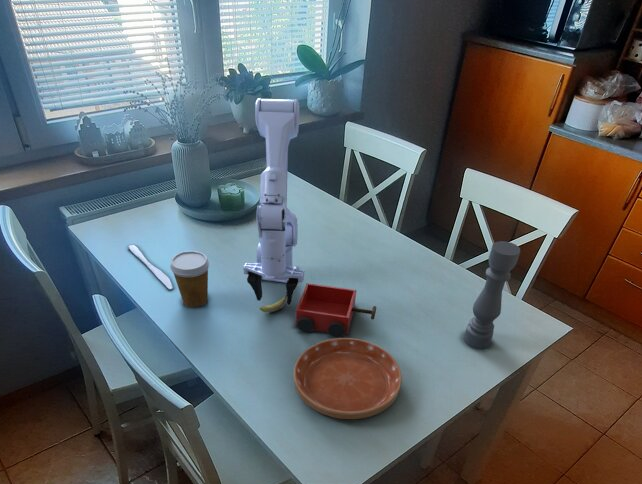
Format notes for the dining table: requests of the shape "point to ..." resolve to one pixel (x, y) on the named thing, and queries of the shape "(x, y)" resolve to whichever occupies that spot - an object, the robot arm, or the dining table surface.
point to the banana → (274, 305)
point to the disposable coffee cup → (191, 277)
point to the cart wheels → (335, 327)
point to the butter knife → (152, 267)
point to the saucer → (347, 378)
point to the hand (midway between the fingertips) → (274, 300)
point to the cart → (326, 306)
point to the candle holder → (491, 294)
